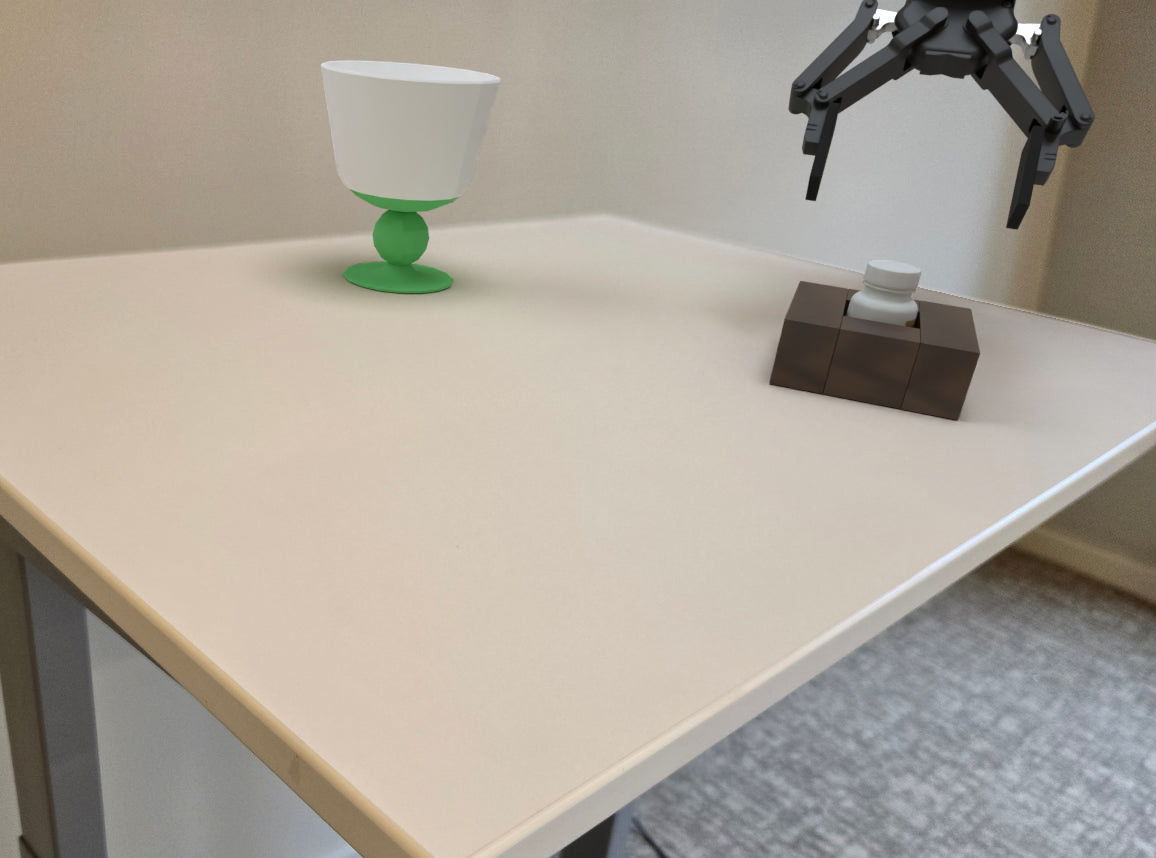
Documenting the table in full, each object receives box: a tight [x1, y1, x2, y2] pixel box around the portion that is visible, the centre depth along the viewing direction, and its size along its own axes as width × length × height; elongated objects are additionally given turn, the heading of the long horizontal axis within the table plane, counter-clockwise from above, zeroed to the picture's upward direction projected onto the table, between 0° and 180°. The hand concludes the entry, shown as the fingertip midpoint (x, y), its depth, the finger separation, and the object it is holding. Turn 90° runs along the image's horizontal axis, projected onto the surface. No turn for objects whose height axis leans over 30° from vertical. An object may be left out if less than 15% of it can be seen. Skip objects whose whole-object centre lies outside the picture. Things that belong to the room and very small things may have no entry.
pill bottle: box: [846, 259, 922, 328], centre depth 74 cm, size 4×4×8 cm
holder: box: [768, 280, 981, 421], centre depth 74 cm, size 12×12×4 cm
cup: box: [319, 59, 502, 294], centre depth 85 cm, size 14×14×16 cm
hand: (912, 203), depth 75 cm, fingers open, 13 cm apart
